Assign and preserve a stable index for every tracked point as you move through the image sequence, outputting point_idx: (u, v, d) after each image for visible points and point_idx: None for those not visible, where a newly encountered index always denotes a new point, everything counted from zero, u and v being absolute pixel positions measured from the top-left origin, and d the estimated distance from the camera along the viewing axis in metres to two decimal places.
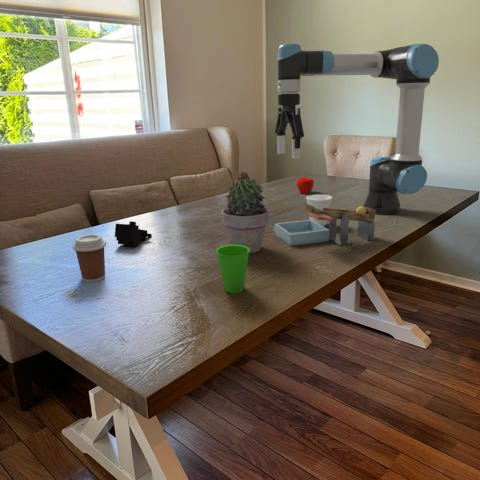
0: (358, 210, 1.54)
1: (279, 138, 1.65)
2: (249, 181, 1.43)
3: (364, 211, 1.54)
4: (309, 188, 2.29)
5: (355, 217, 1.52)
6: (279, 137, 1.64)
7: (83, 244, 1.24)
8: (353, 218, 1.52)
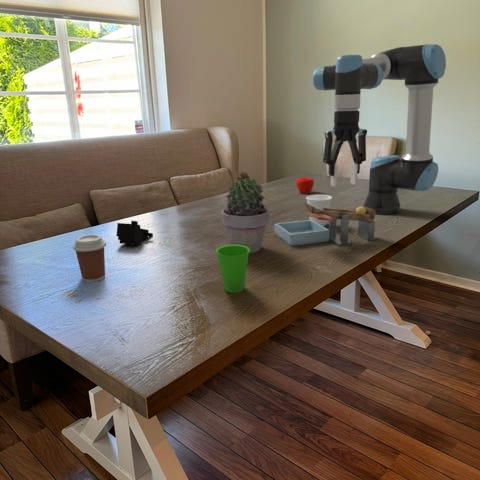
0: (358, 210, 1.54)
1: (351, 166, 1.44)
2: (249, 181, 1.43)
3: (364, 211, 1.54)
4: (309, 188, 2.29)
5: (355, 217, 1.52)
6: (352, 165, 1.44)
7: (83, 244, 1.24)
8: (353, 218, 1.52)
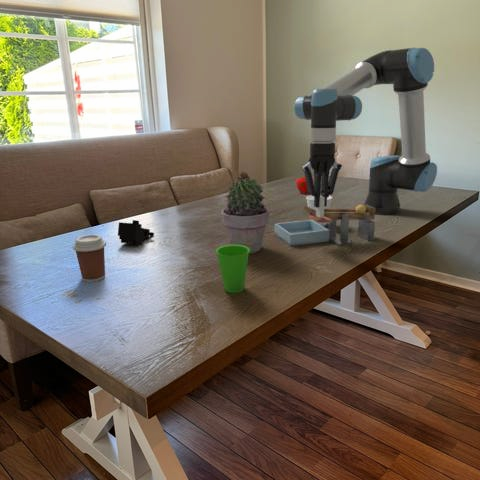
0: (358, 209, 1.54)
1: None
2: (249, 181, 1.43)
3: (364, 209, 1.54)
4: None
5: (355, 216, 1.52)
6: None
7: (83, 244, 1.24)
8: (353, 217, 1.52)
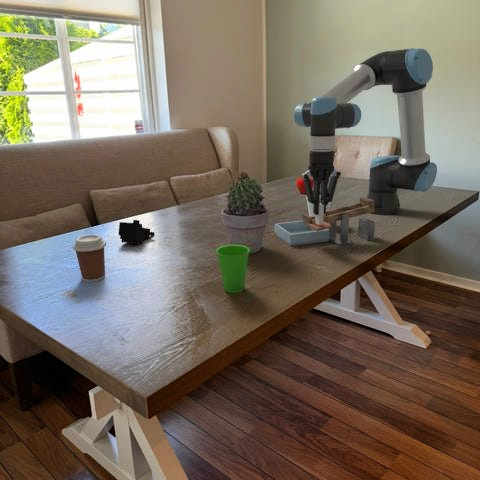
0: None
1: None
2: (249, 181, 1.43)
3: None
4: None
5: (355, 213, 1.52)
6: None
7: (83, 244, 1.24)
8: (353, 215, 1.52)
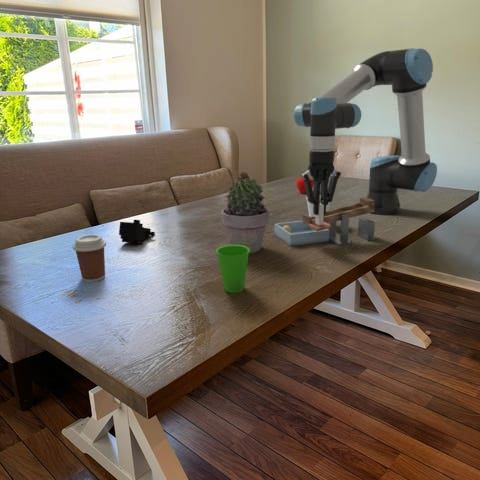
0: (288, 229, 1.60)
1: None
2: (249, 181, 1.43)
3: None
4: None
5: (355, 213, 1.52)
6: None
7: (83, 244, 1.24)
8: (353, 215, 1.52)
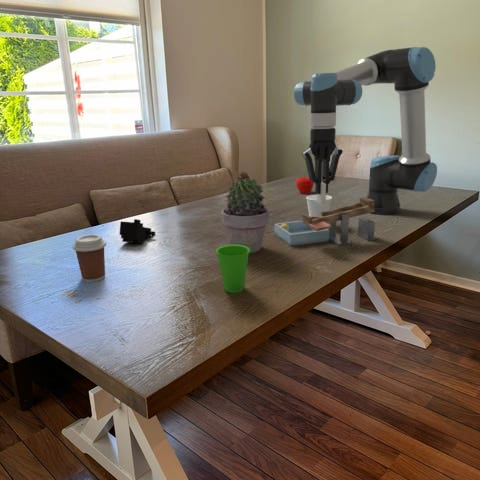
0: (285, 224, 1.64)
1: None
2: (249, 181, 1.43)
3: None
4: (309, 188, 2.29)
5: (355, 213, 1.52)
6: None
7: (83, 244, 1.24)
8: (353, 215, 1.52)
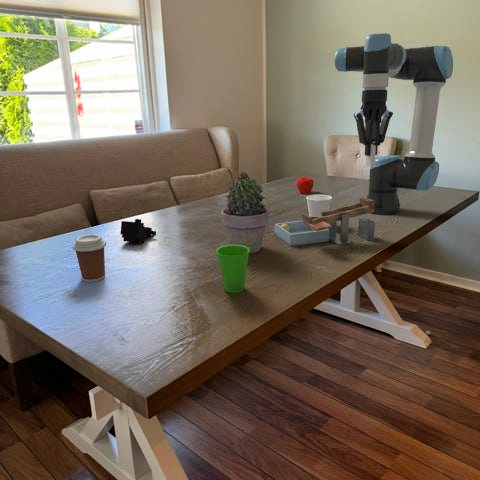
0: (285, 224, 1.63)
1: None
2: (249, 181, 1.43)
3: None
4: (309, 188, 2.29)
5: (355, 213, 1.52)
6: None
7: (83, 244, 1.24)
8: (353, 215, 1.52)
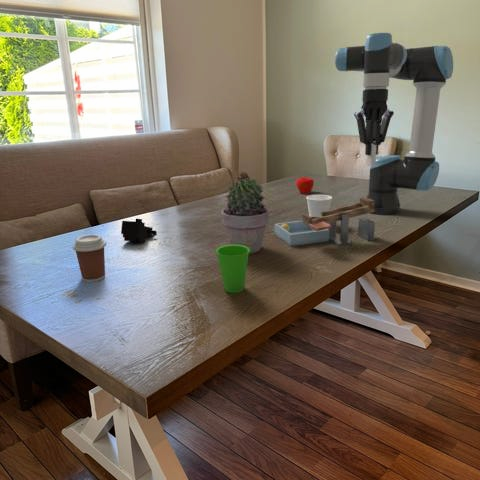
0: (285, 224, 1.63)
1: None
2: (249, 181, 1.43)
3: (281, 226, 1.62)
4: (309, 188, 2.29)
5: (355, 213, 1.52)
6: None
7: (83, 244, 1.24)
8: (353, 215, 1.52)
